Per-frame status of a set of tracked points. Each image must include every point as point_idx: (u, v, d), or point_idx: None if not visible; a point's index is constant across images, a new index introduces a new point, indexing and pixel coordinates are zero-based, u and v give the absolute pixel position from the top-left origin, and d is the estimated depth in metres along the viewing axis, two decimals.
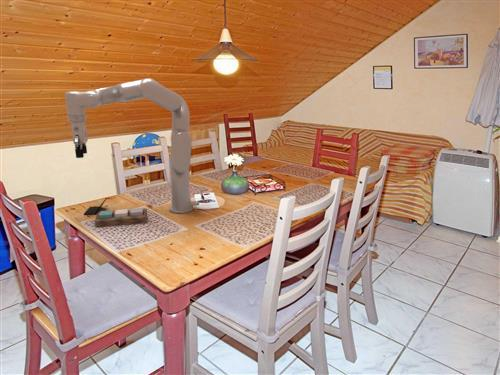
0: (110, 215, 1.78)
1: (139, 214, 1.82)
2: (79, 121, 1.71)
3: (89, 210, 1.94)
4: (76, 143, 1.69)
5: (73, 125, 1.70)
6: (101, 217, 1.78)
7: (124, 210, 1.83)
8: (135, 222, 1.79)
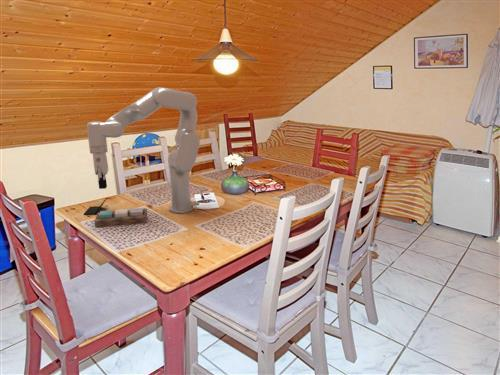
0: (110, 215, 1.78)
1: (139, 214, 1.82)
2: (101, 152, 1.69)
3: (89, 210, 1.94)
4: (100, 178, 1.71)
5: (95, 156, 1.68)
6: (101, 217, 1.78)
7: (124, 210, 1.83)
8: (135, 222, 1.79)
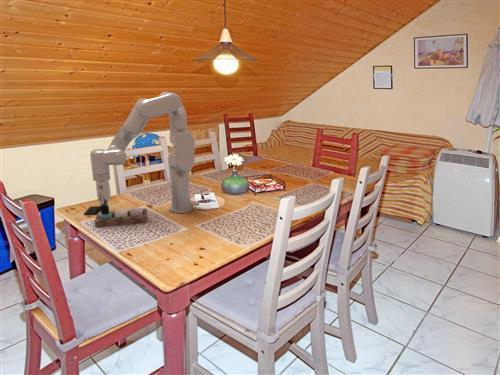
0: (110, 216, 1.79)
1: (139, 214, 1.82)
2: (104, 179, 1.72)
3: (89, 210, 1.94)
4: (102, 204, 1.75)
5: (98, 183, 1.71)
6: (101, 218, 1.78)
7: (124, 210, 1.83)
8: (135, 222, 1.79)
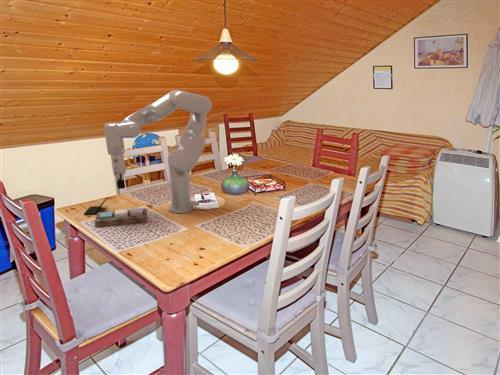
0: (110, 217, 1.79)
1: (139, 214, 1.82)
2: (119, 153, 1.71)
3: (89, 210, 1.94)
4: (118, 178, 1.73)
5: (113, 157, 1.70)
6: None
7: (124, 210, 1.83)
8: (135, 222, 1.79)
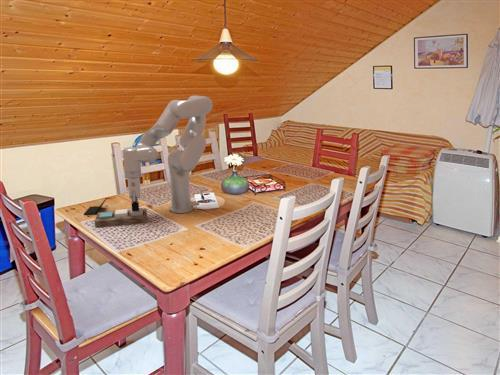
0: (110, 217, 1.79)
1: (139, 214, 1.82)
2: (135, 176, 1.76)
3: (89, 210, 1.95)
4: (134, 201, 1.78)
5: (130, 181, 1.75)
6: None
7: (124, 210, 1.83)
8: (135, 222, 1.79)
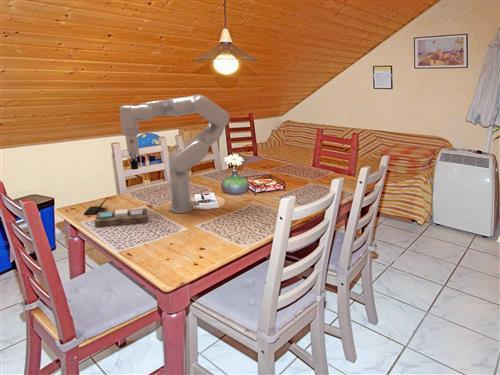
0: (110, 217, 1.79)
1: None
2: (134, 134, 1.78)
3: (89, 210, 1.95)
4: (133, 159, 1.80)
5: (128, 138, 1.77)
6: None
7: (124, 210, 1.83)
8: (135, 222, 1.79)
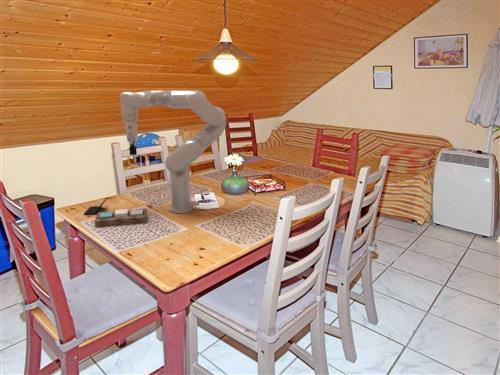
0: (110, 217, 1.79)
1: None
2: (133, 120, 1.83)
3: (89, 210, 1.95)
4: (131, 144, 1.85)
5: (127, 123, 1.82)
6: None
7: (124, 210, 1.83)
8: (135, 222, 1.79)
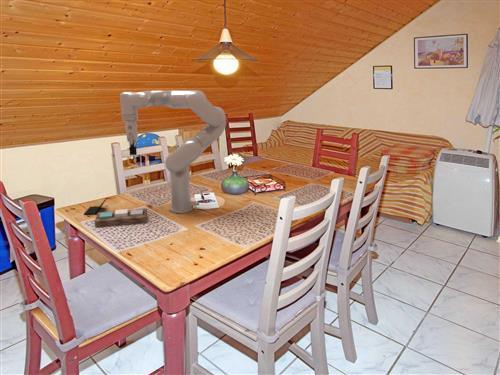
0: (110, 217, 1.79)
1: None
2: (133, 120, 1.83)
3: (89, 210, 1.95)
4: (131, 144, 1.85)
5: (127, 123, 1.82)
6: None
7: (124, 210, 1.83)
8: (135, 222, 1.79)
